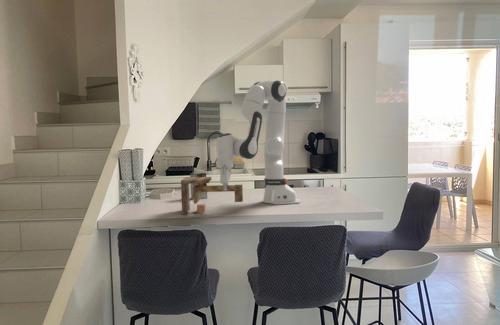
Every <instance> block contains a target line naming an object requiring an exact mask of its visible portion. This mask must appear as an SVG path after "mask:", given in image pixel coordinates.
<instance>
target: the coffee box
mask: <svg viewBox="0 0 500 325" xmlns="http://www.w3.org/2000/svg"><path fill="white" fill-rule="evenodd" d="M189 177H207V173H205V172H197V173H196V172H192V173H189ZM195 185H199V186H208V183H189V187H190V199H193V200H194V198H193V187H194V186H195ZM200 199H201V200H202V199H208V192H199V200H200Z"/></svg>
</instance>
